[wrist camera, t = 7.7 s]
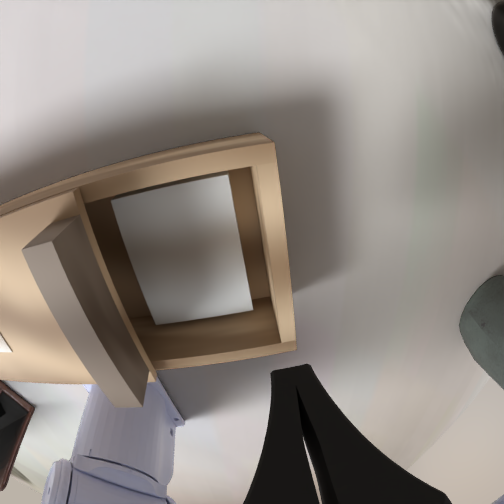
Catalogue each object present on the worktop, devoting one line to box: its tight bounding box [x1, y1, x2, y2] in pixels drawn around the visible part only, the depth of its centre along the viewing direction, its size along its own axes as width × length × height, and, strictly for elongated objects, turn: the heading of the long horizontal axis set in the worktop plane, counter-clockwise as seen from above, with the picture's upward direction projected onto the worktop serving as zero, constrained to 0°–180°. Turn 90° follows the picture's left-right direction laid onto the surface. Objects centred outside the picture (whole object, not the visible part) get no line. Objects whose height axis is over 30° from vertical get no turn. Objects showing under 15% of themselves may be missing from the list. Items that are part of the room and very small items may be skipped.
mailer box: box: [0, 132, 297, 370], centre depth 16 cm, size 11×18×5 cm, turn 99°
